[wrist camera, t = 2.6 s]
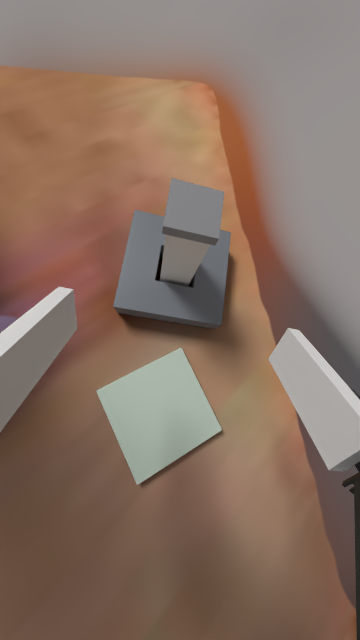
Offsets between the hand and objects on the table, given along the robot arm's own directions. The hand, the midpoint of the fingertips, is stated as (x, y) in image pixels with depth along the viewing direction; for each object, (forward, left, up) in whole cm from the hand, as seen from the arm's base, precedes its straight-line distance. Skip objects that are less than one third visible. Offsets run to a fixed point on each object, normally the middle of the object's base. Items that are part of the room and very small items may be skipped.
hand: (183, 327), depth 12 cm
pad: (+7, -4, -16) cm, 18 cm away
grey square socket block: (-9, +6, -16) cm, 19 cm away
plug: (-9, +6, -16) cm, 19 cm away
